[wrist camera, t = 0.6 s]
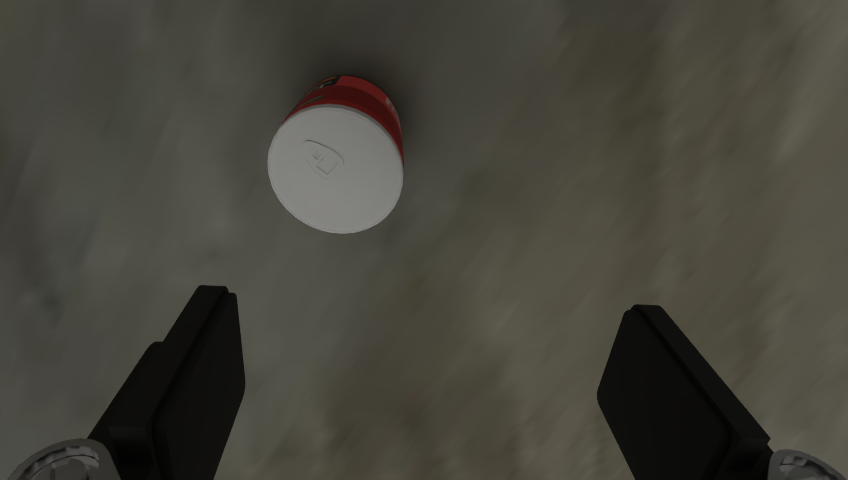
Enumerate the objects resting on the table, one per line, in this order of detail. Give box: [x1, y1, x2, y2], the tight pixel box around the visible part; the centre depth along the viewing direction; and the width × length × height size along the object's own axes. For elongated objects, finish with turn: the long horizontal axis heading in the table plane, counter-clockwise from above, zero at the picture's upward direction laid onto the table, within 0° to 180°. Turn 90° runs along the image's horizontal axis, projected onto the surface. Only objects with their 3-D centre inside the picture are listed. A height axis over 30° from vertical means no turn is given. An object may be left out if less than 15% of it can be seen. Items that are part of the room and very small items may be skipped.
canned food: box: [268, 76, 404, 234], centre depth 33 cm, size 8×8×11 cm
